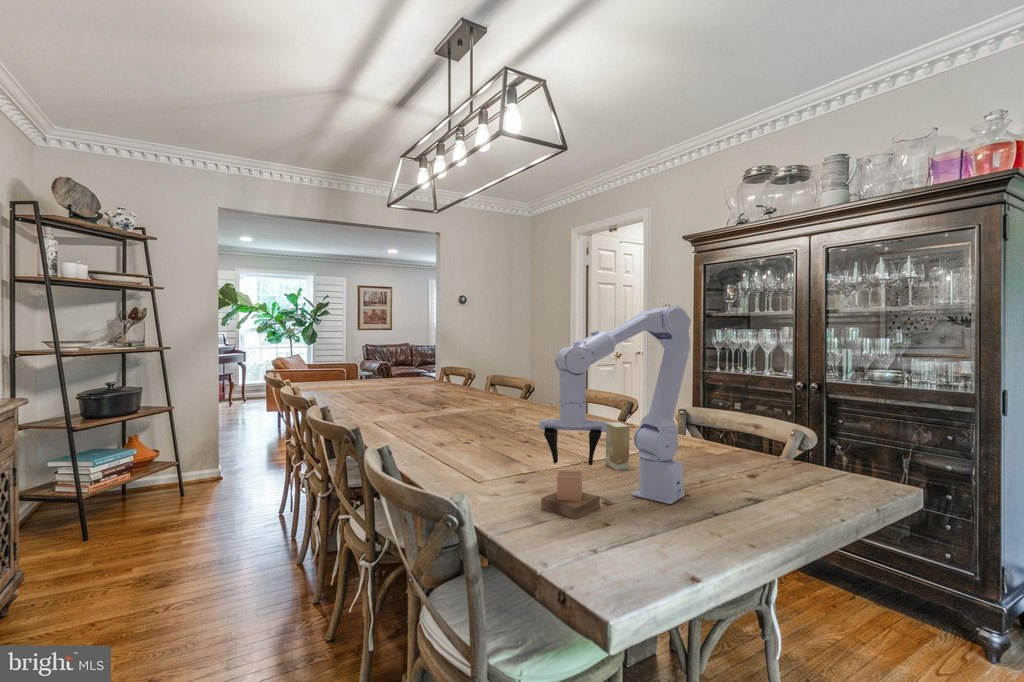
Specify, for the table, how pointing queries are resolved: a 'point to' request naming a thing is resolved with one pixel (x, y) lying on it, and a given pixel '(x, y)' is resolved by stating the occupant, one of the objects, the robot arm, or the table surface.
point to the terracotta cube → (569, 485)
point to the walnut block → (571, 505)
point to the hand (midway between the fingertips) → (573, 463)
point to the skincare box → (617, 445)
